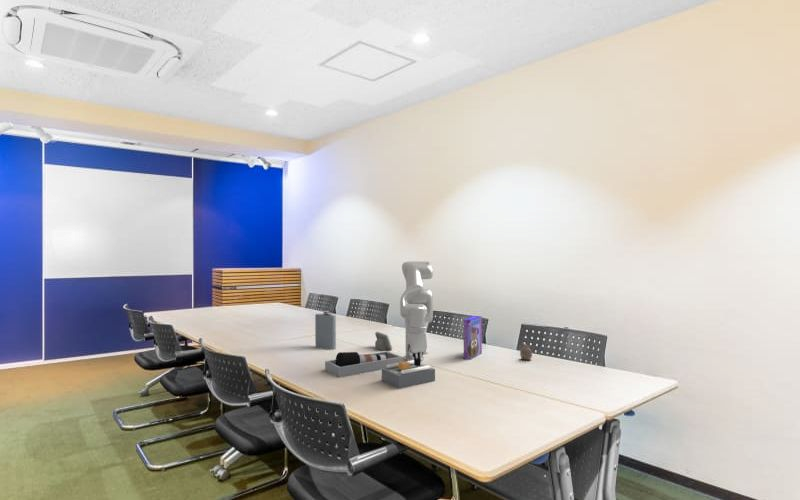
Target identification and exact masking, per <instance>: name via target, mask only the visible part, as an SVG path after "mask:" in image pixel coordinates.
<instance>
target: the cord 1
mask: <svg viewBox="0 0 800 500" xmlns="http://www.w3.org/2000/svg"><path fill="white" fill-rule="evenodd" d="M407 362H410V365H411V364H414V360H411V361H407ZM395 367H399V363H394V364H389V365H387V366H386V368H388V369H389V368H395Z"/></svg>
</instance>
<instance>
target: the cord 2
mask: <svg viewBox="0 0 800 500" xmlns="http://www.w3.org/2000/svg"><path fill="white" fill-rule="evenodd" d="M430 368H432V366H431V365H429V364H427V365H425V366H422V367H417V368H412V369H407V370H402V371H401V374H402V375H403V374H408V373H413V372H418V371H423V370H428V369H430Z"/></svg>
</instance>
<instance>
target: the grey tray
mask: <svg viewBox="0 0 800 500" xmlns="http://www.w3.org/2000/svg"><path fill="white" fill-rule="evenodd" d="M369 354H370V355H385V356H386V358H390V359H384V360H378V361H372V362H366V363H360V364H354V365H348V366H343V367H339V366H337V365H336V359H330V360H325V361H324V370H325V371H326V372H328V373H329V374H331V375H333V376H335V377H337V378H343V377H348V376H354V375H360V373H361V374H365V372H366V373H370V372H371V373H372V372H375V371H382V369H384V368H386V366H387V365H389V364H394V363H399V362H402V361H404V359H403V357H404V356H402V355H399V354H396V353H393V352H390V351H389V350H385V351H380V352H375V353H369Z"/></svg>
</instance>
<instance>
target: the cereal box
mask: <svg viewBox="0 0 800 500" xmlns="http://www.w3.org/2000/svg"><path fill="white" fill-rule="evenodd" d="M482 321H483V320H482V316H481V315H474V316H471V317H467V318H465V319H463V360H472V359H475V358H476V357H478V356H480V355H482V353H483V349H482V348H483V346H482V345H483V344H482V343H483V341H482V339H483V337H482V335H483V333H482V332H483V330H482V328H483V327H482V326H483V325H482V323H483V322H482Z"/></svg>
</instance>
